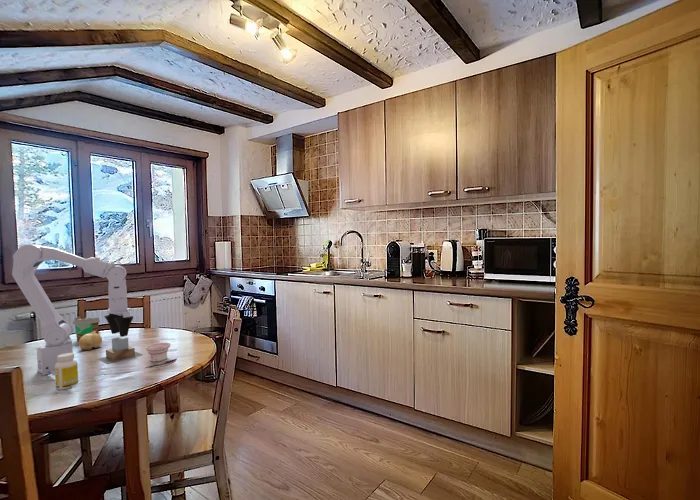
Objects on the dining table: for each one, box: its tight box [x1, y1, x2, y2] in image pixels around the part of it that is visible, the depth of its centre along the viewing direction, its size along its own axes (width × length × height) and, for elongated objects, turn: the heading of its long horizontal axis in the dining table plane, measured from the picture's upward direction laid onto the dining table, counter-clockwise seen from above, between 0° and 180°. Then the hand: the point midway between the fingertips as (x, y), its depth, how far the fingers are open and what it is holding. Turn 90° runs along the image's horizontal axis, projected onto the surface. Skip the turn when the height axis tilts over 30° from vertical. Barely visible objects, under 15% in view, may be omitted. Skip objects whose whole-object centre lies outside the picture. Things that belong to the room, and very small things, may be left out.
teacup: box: [144, 342, 178, 369], centre depth 130 cm, size 12×12×6 cm
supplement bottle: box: [54, 352, 79, 391], centre depth 109 cm, size 5×5×10 cm
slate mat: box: [96, 351, 144, 365], centre depth 134 cm, size 12×10×1 cm
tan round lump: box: [77, 331, 103, 351], centre depth 149 cm, size 8×8×7 cm
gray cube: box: [111, 336, 130, 351], centre depth 134 cm, size 4×4×4 cm
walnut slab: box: [105, 345, 136, 361], centre depth 134 cm, size 7×7×3 cm
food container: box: [72, 316, 101, 342], centre depth 162 cm, size 12×6×10 cm, turn 73°
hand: (119, 334), depth 134 cm, fingers open, 7 cm apart
